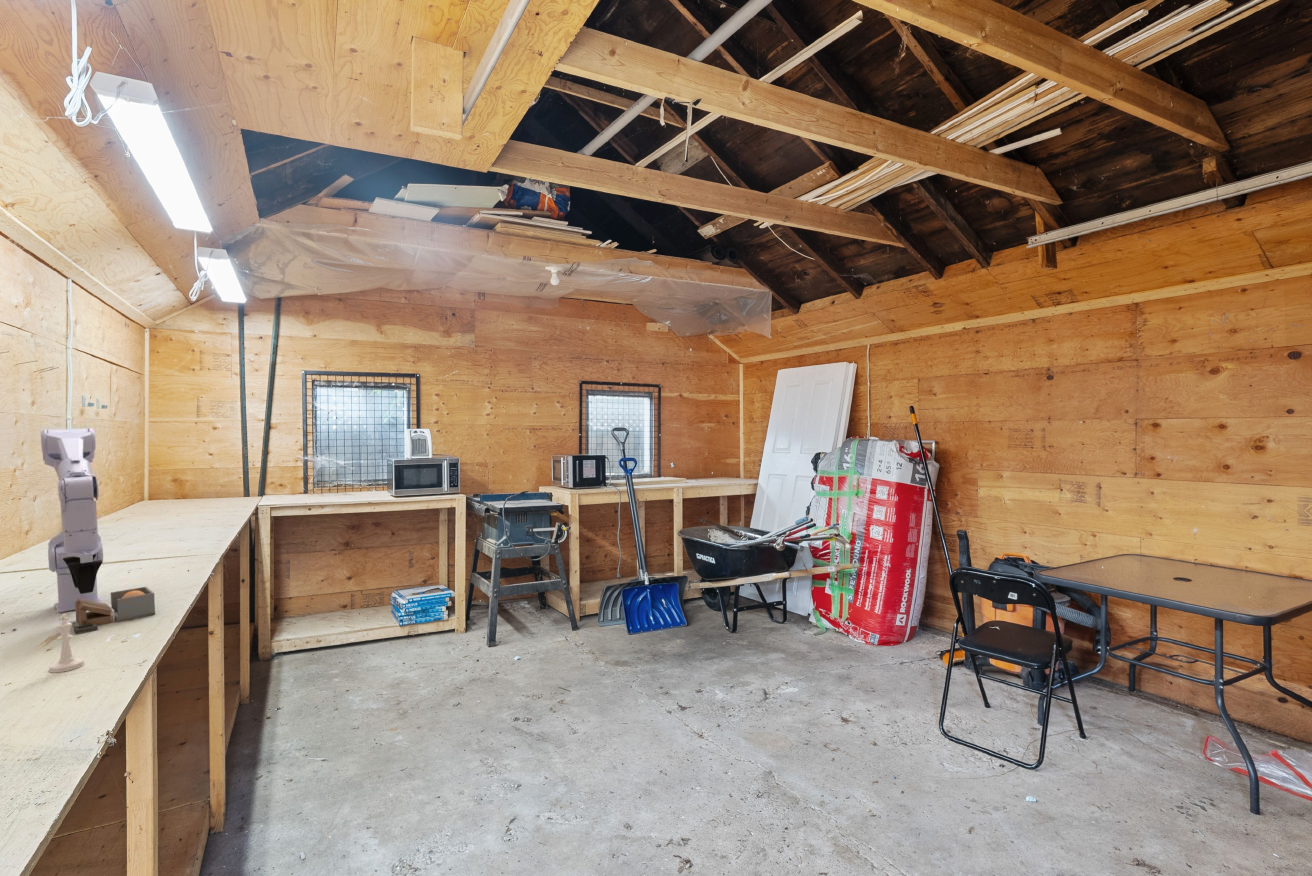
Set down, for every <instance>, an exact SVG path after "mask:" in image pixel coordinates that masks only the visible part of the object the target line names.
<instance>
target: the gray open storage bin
mask: <svg viewBox="0 0 1312 876" xmlns="http://www.w3.org/2000/svg"><path fill="white" fill-rule="evenodd" d="M130 591H141V592H143V593H145V594H144V595H138V596H133V597H127V598H122V597H123V596H124V595H125V594H126V593H128V592H130ZM155 604H156V603H155V592H154V591H152V590H151V589H150V588H149V587H147V586H142V587H136V588H130V589H124V590H118V591H112V592H110V607H111V608H112V609H113V610H114V615H115V622H121V621H126V620H132V619H137V618H143V617H148V616H153V615H156V607H155V606H156V605H155Z"/></svg>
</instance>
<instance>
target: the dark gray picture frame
mask: <svg viewBox="0 0 1312 876" xmlns="http://www.w3.org/2000/svg"><path fill="white" fill-rule="evenodd" d="M98 630H99V625H97V624H96V623H91V624H85V625H80V626H79V625H75V626H73V631H74V633H75V634H76V635H79V634H82V633H89V632H92V631H98Z"/></svg>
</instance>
